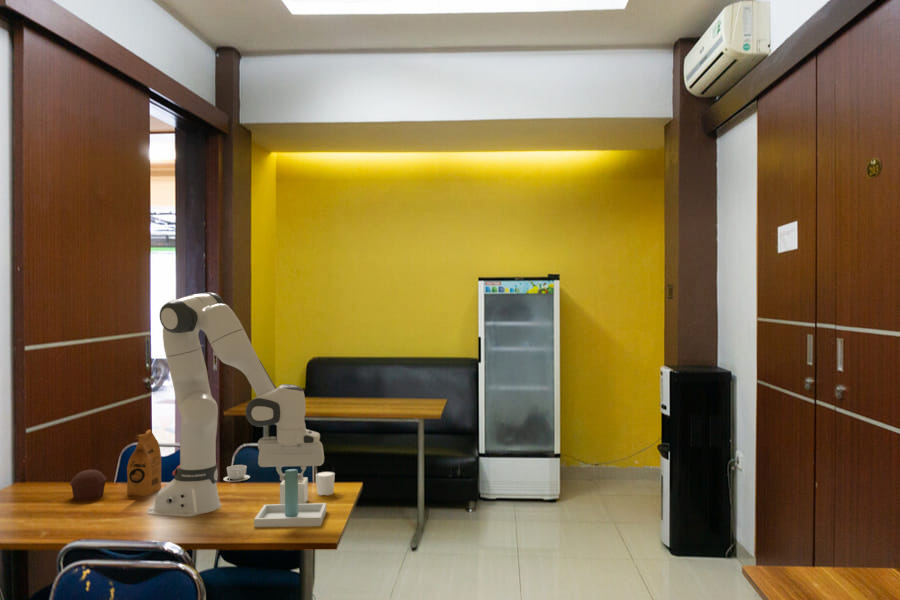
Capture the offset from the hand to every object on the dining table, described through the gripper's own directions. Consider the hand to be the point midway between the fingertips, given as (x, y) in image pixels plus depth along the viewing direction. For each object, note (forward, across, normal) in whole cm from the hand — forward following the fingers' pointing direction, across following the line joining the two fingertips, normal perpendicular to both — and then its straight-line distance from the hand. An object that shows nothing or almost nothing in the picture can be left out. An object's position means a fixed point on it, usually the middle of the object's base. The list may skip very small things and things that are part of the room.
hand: (291, 479), depth 201 cm
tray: (+13, 0, 0) cm, 13 cm away
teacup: (+13, -30, +50) cm, 59 cm away
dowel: (+11, 0, 0) cm, 11 cm away
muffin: (+13, -75, +27) cm, 81 cm away
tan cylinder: (+13, +7, +28) cm, 32 cm away
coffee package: (+13, -58, +33) cm, 68 cm away
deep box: (+13, -2, +16) cm, 21 cm away
